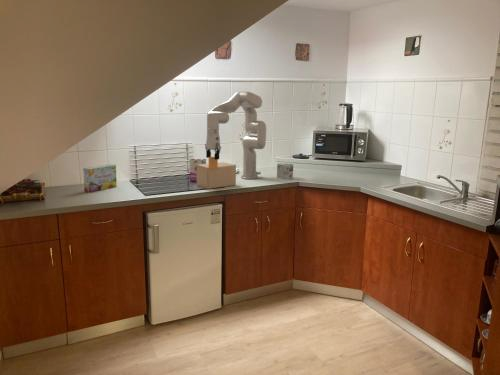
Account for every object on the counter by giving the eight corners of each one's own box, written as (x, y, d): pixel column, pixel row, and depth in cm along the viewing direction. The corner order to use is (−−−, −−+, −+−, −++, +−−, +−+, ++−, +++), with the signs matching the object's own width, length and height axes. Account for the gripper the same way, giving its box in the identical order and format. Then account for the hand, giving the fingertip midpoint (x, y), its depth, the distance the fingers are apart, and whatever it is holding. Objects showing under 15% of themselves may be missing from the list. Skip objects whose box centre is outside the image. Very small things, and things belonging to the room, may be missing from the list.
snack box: (90, 193, 260) (88, 168, 257) (84, 191, 263) (82, 167, 260) (117, 187, 277) (116, 164, 274) (111, 185, 280) (110, 163, 277)
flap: (235, 184, 288) (235, 154, 284) (236, 185, 287) (236, 155, 283) (208, 188, 276) (208, 157, 271) (209, 188, 274) (209, 157, 270)
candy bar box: (206, 181, 298) (206, 158, 295) (202, 183, 294) (202, 159, 290) (193, 180, 303) (193, 157, 300) (189, 181, 299) (189, 158, 295)
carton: (223, 181, 300) (223, 162, 297) (235, 185, 289) (235, 164, 286) (196, 185, 287) (196, 164, 283) (207, 188, 276) (207, 167, 273)
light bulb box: (293, 178, 316) (293, 164, 314) (289, 179, 311) (289, 165, 309) (280, 176, 322) (281, 162, 320) (276, 177, 317) (276, 163, 314)
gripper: (225, 132, 264) (225, 159, 268) (210, 130, 278) (210, 156, 281) (215, 133, 260) (215, 160, 263) (200, 131, 273) (200, 157, 277)
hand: (212, 158), depth 272 cm, fingers open, 9 cm apart
